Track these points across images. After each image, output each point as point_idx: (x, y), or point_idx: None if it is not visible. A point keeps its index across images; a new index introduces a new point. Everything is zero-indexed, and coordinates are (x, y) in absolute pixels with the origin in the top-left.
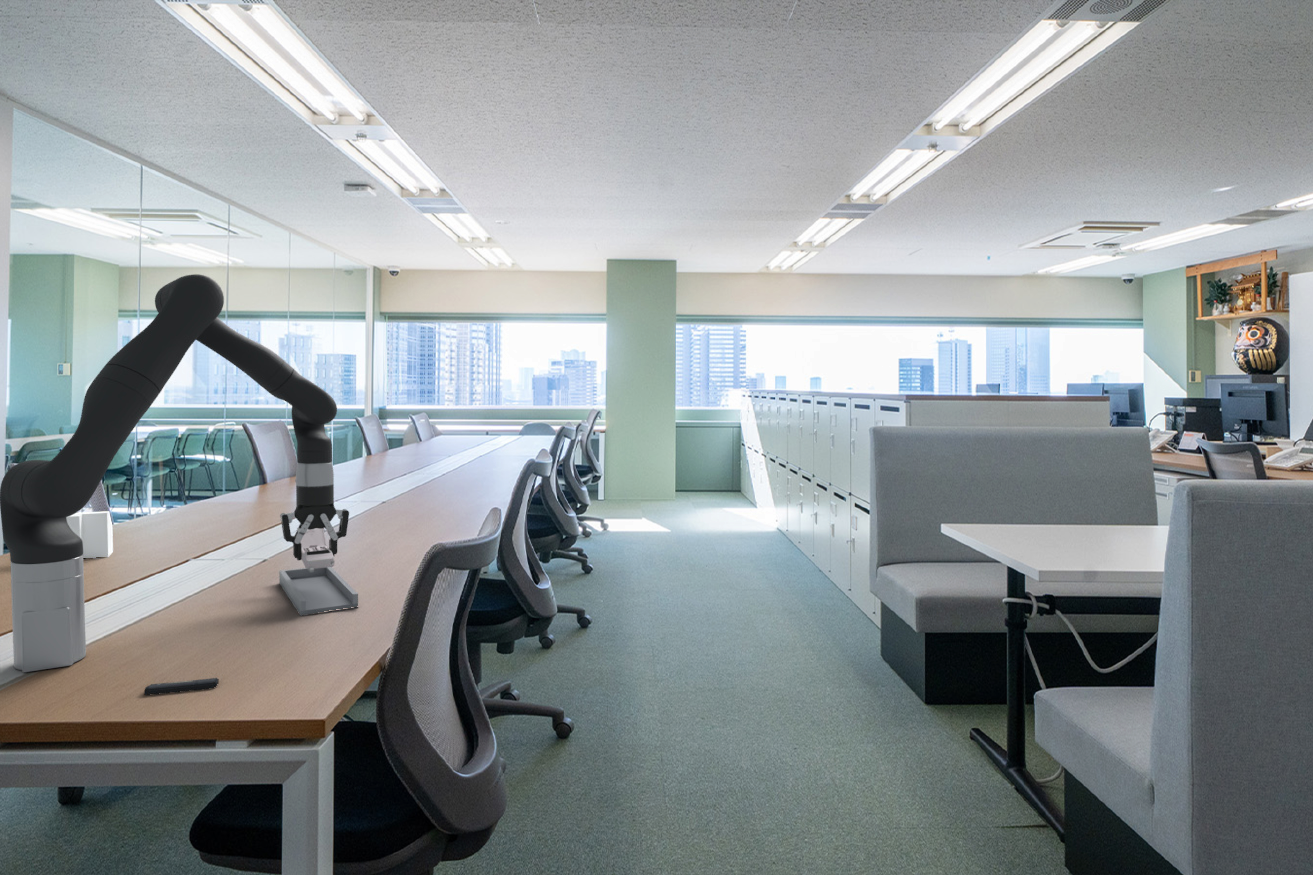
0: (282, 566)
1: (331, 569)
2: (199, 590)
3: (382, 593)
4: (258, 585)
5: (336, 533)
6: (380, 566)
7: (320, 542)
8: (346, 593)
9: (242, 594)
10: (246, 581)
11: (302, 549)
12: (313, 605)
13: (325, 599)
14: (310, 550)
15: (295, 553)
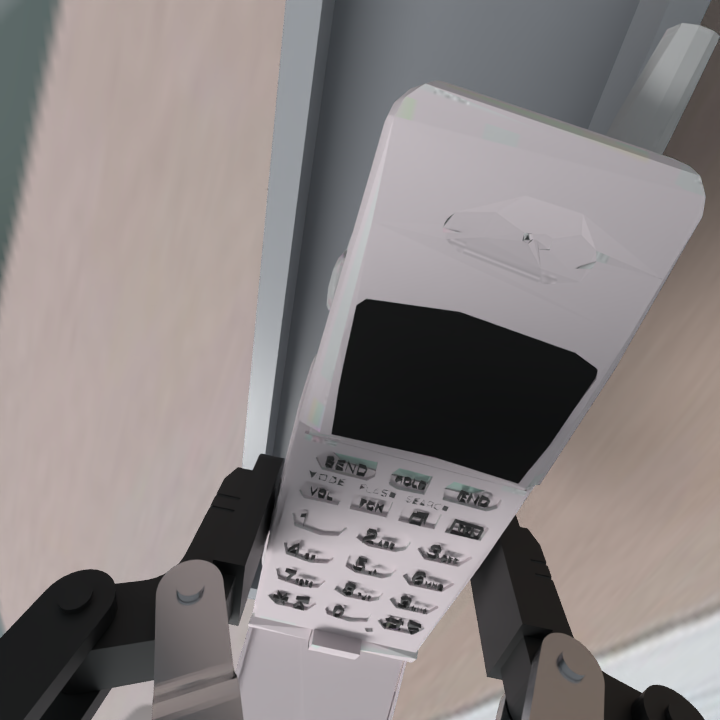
0: None
1: None
2: (632, 648)
3: (112, 170)
4: None
5: (148, 647)
6: (53, 563)
7: (267, 677)
8: (311, 145)
9: (578, 543)
10: (477, 650)
11: (429, 621)
12: (546, 78)
13: None
14: (411, 563)
15: (536, 559)
